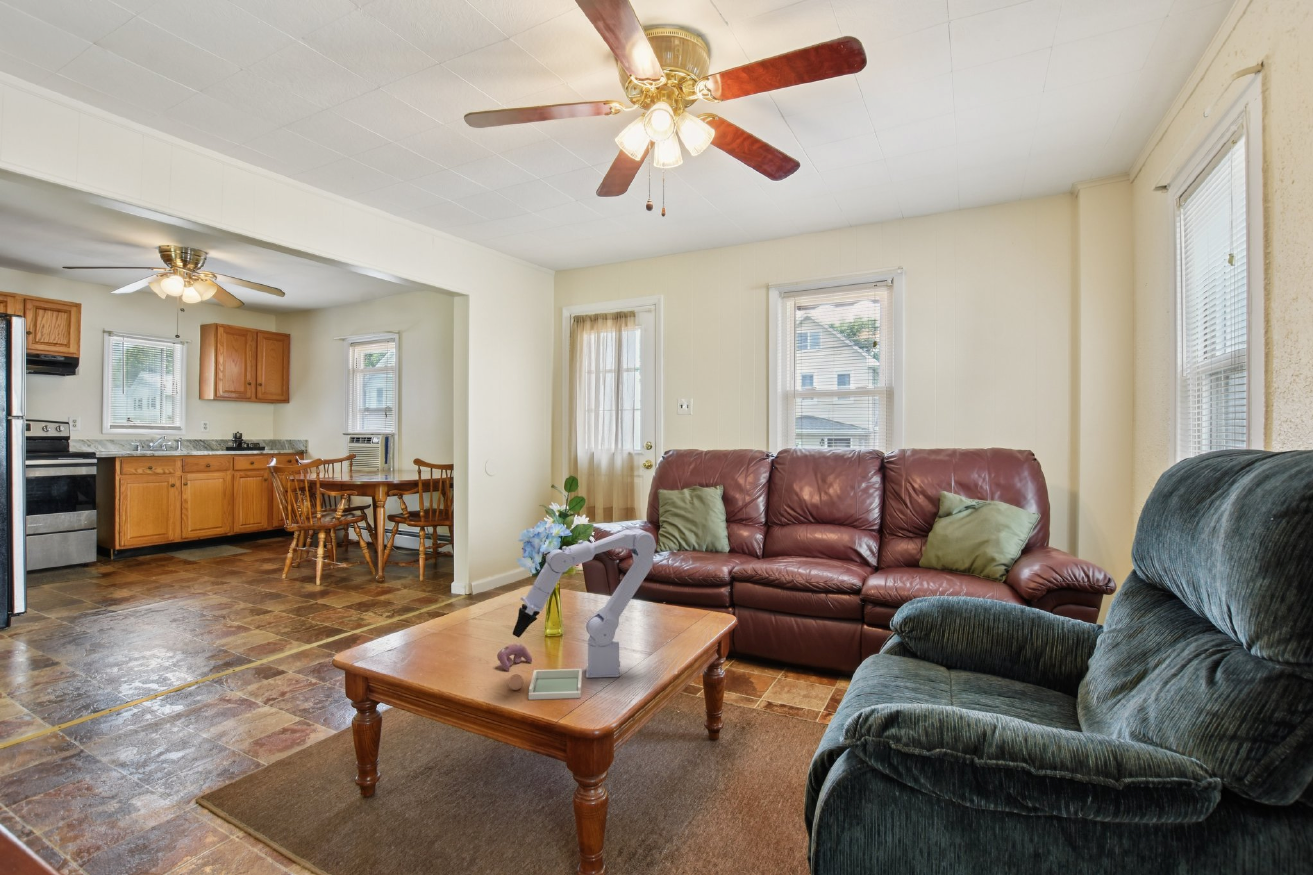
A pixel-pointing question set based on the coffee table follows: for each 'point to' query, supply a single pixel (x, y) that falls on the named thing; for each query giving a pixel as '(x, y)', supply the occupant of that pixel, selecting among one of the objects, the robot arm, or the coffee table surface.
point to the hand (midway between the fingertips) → (517, 633)
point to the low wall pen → (555, 675)
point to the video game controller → (515, 650)
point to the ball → (515, 682)
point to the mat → (556, 685)
